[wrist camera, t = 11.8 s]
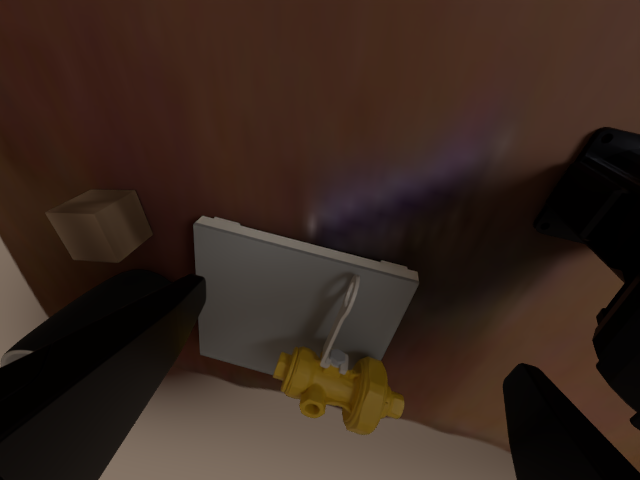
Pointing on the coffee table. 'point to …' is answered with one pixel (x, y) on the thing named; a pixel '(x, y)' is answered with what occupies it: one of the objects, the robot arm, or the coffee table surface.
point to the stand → (291, 297)
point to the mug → (88, 310)
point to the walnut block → (101, 225)
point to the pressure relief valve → (339, 380)
